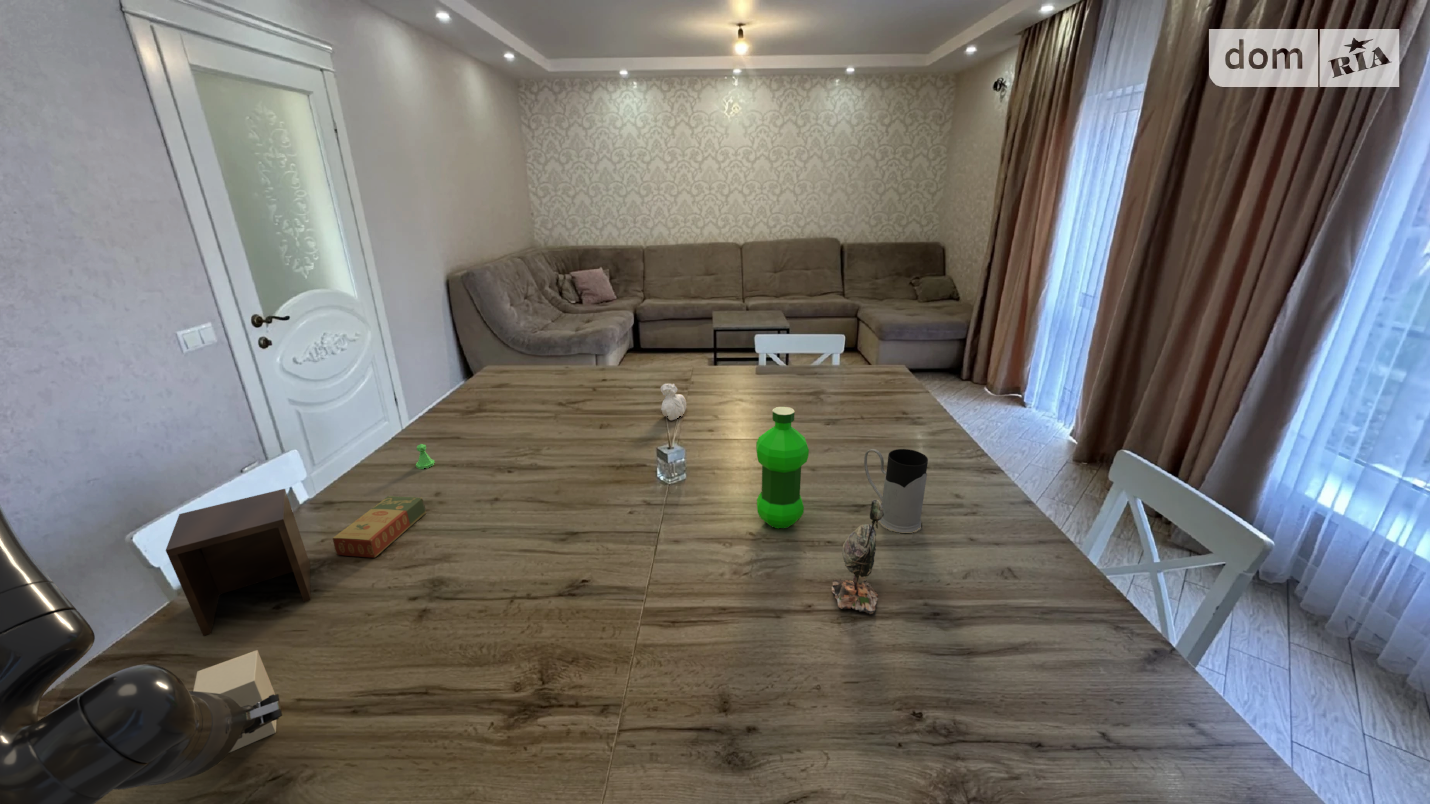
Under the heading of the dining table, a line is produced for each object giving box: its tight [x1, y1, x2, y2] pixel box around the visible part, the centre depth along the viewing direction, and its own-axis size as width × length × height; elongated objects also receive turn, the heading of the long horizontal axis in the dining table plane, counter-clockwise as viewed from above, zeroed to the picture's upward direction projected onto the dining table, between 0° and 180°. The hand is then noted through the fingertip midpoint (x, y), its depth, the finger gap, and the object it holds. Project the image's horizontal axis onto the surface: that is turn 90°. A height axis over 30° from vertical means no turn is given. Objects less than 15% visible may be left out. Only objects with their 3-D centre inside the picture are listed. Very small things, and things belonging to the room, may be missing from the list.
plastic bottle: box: [755, 406, 810, 529], centre depth 110 cm, size 10×10×25 cm
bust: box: [660, 382, 687, 421], centre depth 168 cm, size 12×8×11 cm
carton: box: [332, 495, 427, 558], centre depth 111 cm, size 8×16×4 cm, turn 173°
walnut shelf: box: [165, 488, 312, 637], centre depth 92 cm, size 14×12×16 cm
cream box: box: [192, 649, 277, 754], centre depth 70 cm, size 6×6×9 cm
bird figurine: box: [831, 498, 884, 615], centre depth 91 cm, size 8×11×20 cm
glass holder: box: [863, 448, 929, 532], centre depth 114 cm, size 9×14×15 cm, turn 39°
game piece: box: [415, 443, 436, 470], centre depth 139 cm, size 4×4×6 cm
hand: (233, 731), depth 67 cm, fingers closed
